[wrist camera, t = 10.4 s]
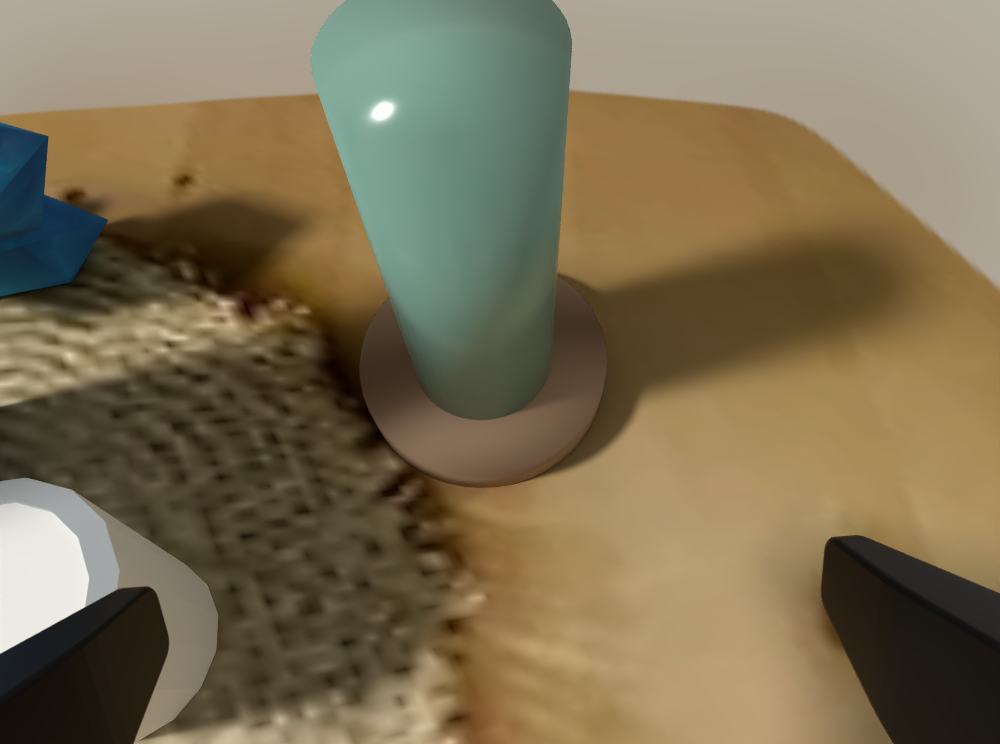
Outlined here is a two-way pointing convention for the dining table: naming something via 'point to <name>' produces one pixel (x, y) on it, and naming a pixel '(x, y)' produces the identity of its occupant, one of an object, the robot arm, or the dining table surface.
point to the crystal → (37, 219)
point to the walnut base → (497, 442)
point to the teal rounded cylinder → (457, 180)
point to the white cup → (98, 583)
